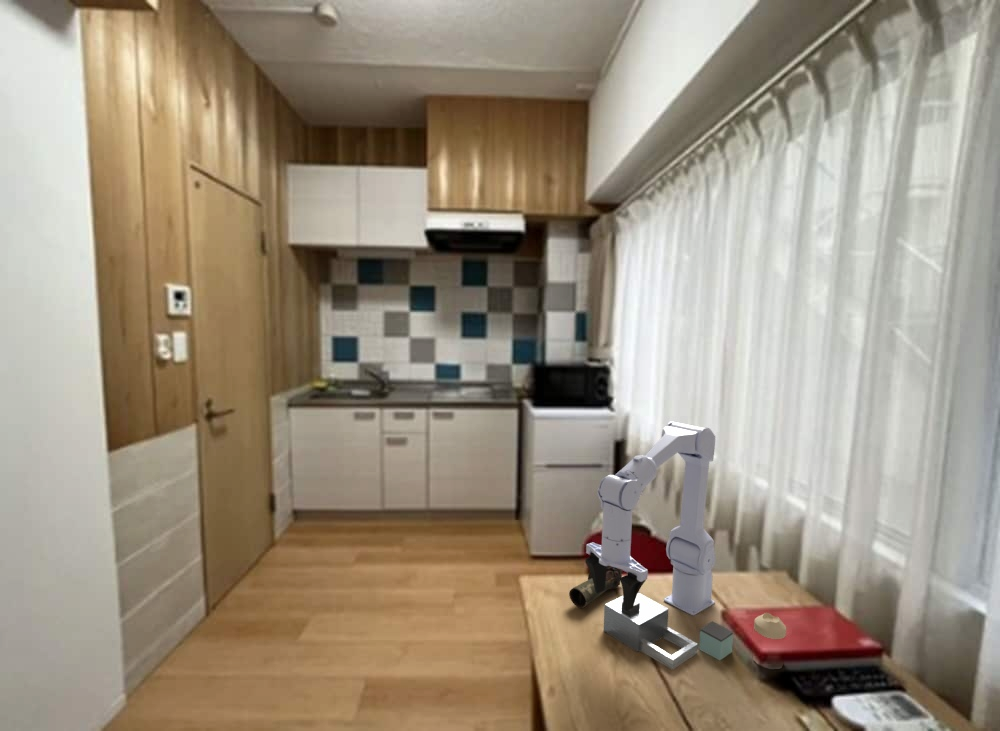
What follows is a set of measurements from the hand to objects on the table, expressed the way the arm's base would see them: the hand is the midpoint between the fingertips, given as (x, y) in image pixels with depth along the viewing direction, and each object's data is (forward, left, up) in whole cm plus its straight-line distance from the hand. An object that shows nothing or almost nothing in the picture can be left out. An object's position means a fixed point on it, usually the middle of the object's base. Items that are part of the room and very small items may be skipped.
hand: (613, 599), depth 104 cm
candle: (-21, +22, -10) cm, 32 cm away
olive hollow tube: (-7, -14, -13) cm, 20 cm away
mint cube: (-16, +14, -10) cm, 23 cm away
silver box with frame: (-8, +8, -10) cm, 15 cm away
